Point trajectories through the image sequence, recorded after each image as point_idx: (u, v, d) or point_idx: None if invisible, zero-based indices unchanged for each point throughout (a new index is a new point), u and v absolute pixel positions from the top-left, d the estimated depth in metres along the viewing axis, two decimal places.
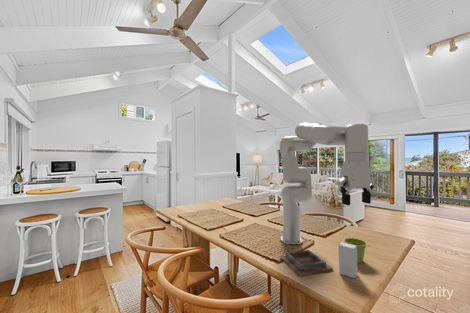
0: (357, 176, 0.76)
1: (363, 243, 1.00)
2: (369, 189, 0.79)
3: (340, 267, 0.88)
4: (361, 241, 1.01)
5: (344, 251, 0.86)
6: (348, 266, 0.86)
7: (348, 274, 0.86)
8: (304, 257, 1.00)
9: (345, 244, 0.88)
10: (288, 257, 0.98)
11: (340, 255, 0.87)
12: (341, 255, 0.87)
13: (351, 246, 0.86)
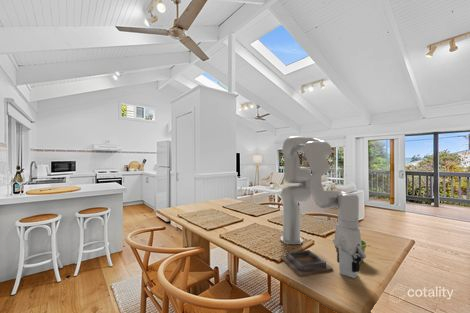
0: None
1: (363, 243, 1.00)
2: None
3: (340, 267, 0.88)
4: (361, 241, 1.01)
5: None
6: (348, 266, 0.86)
7: (348, 274, 0.86)
8: (304, 257, 1.00)
9: None
10: (288, 257, 0.98)
11: (340, 255, 0.87)
12: (341, 255, 0.87)
13: None
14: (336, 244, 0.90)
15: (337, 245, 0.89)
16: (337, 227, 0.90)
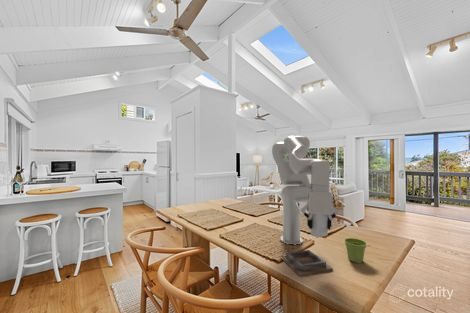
0: None
1: (363, 243, 1.00)
2: None
3: (318, 231, 0.91)
4: (361, 241, 1.01)
5: None
6: (324, 227, 0.92)
7: (324, 234, 0.92)
8: (304, 257, 1.00)
9: None
10: (288, 257, 0.98)
11: (319, 220, 0.90)
12: (320, 220, 0.90)
13: None
14: (313, 211, 0.91)
15: (314, 212, 0.91)
16: (314, 194, 0.91)
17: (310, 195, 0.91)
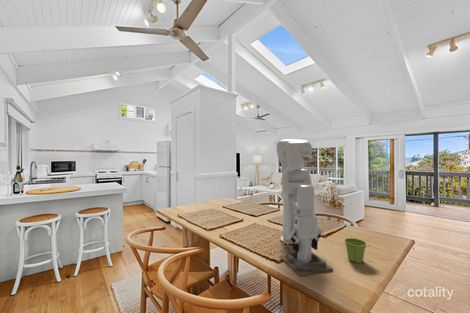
0: None
1: (363, 243, 1.00)
2: None
3: (306, 258, 0.93)
4: (361, 241, 1.01)
5: (308, 241, 0.94)
6: (309, 253, 0.95)
7: (309, 260, 0.95)
8: None
9: None
10: (288, 257, 0.98)
11: (307, 247, 0.93)
12: (307, 247, 0.93)
13: None
14: (302, 236, 0.92)
15: (303, 236, 0.92)
16: (302, 219, 0.92)
17: (299, 220, 0.93)
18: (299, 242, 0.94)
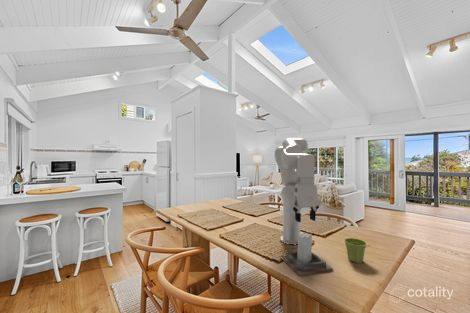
0: None
1: (363, 243, 1.00)
2: None
3: (306, 258, 0.93)
4: (361, 241, 1.01)
5: (308, 241, 0.94)
6: (309, 253, 0.95)
7: (309, 260, 0.95)
8: None
9: (303, 235, 0.95)
10: (288, 257, 0.98)
11: (307, 247, 0.93)
12: (307, 247, 0.93)
13: (307, 234, 0.97)
14: (302, 204, 0.92)
15: (303, 204, 0.92)
16: (302, 187, 0.92)
17: (299, 188, 0.93)
18: (299, 242, 0.94)
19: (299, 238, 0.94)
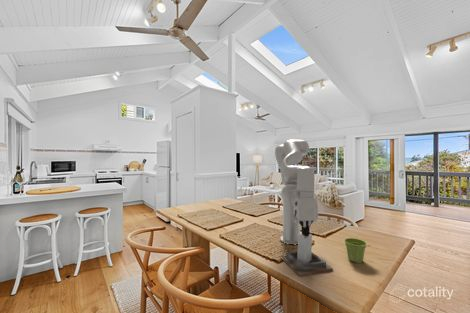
0: None
1: (363, 243, 1.00)
2: None
3: (306, 258, 0.93)
4: (361, 241, 1.01)
5: (308, 241, 0.94)
6: (309, 253, 0.95)
7: (309, 260, 0.95)
8: None
9: None
10: (288, 257, 0.98)
11: (307, 247, 0.93)
12: (307, 247, 0.93)
13: None
14: (302, 218, 0.92)
15: (303, 218, 0.92)
16: (302, 201, 0.92)
17: (299, 202, 0.93)
18: (299, 242, 0.94)
19: (299, 238, 0.94)
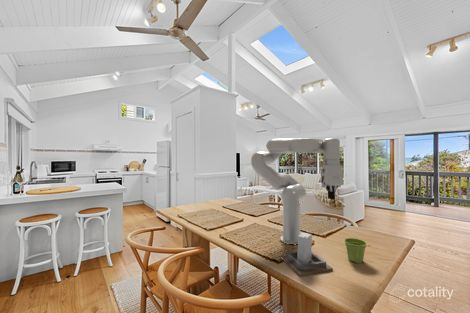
0: None
1: (363, 243, 1.00)
2: None
3: (306, 258, 0.93)
4: (361, 241, 1.01)
5: (308, 241, 0.94)
6: (309, 253, 0.95)
7: (309, 260, 0.95)
8: None
9: (303, 235, 0.95)
10: (288, 257, 0.98)
11: (307, 247, 0.93)
12: (307, 247, 0.93)
13: (307, 234, 0.97)
14: (329, 182, 1.04)
15: (330, 183, 1.05)
16: (329, 167, 1.05)
17: (326, 169, 1.05)
18: (299, 242, 0.94)
19: (299, 238, 0.94)
